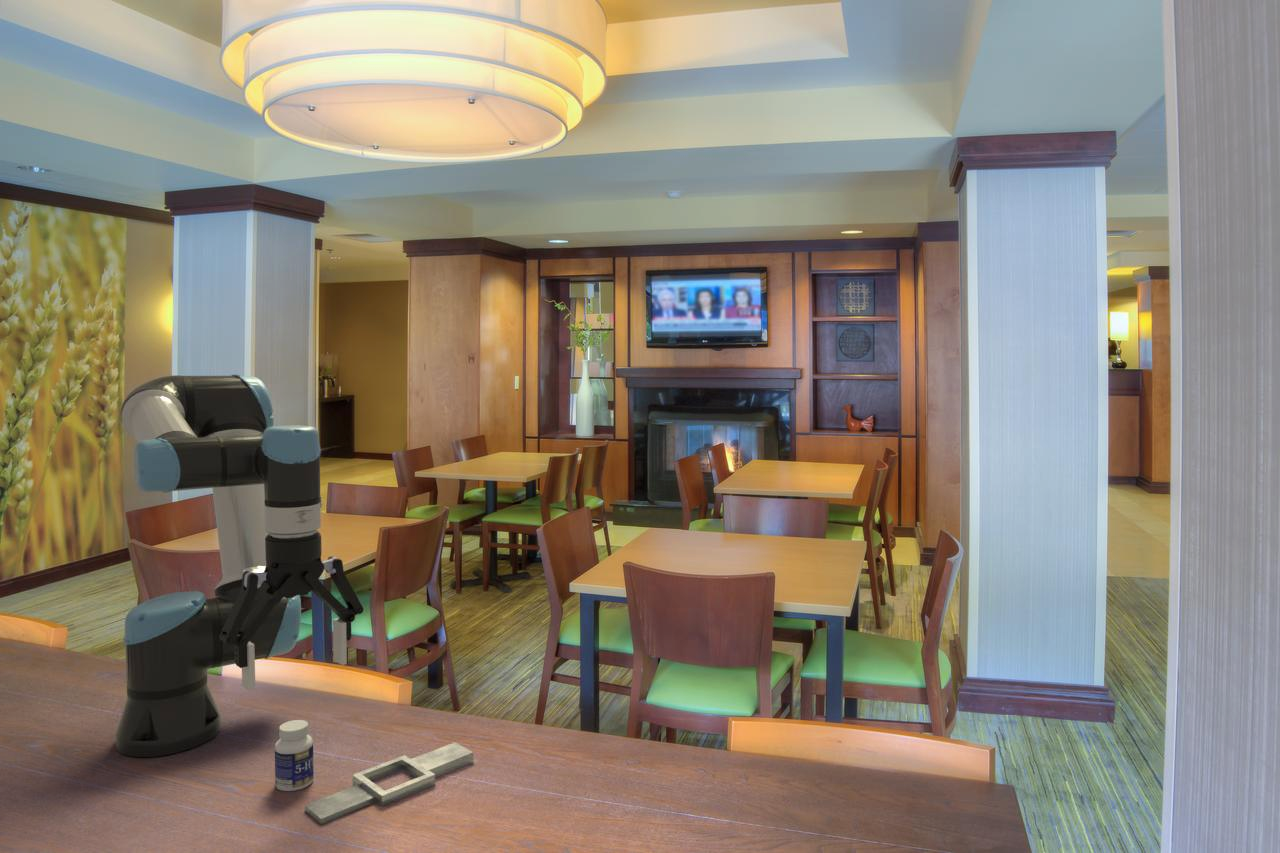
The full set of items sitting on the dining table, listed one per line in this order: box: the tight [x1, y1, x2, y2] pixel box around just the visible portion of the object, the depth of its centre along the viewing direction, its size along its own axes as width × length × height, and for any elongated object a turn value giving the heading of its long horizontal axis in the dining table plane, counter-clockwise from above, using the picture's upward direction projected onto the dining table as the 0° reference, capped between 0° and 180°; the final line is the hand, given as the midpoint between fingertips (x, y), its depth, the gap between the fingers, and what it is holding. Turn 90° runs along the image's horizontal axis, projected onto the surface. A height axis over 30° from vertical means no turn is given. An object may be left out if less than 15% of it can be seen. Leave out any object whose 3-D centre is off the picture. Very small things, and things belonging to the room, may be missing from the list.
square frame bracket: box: [304, 741, 474, 825], centre depth 122 cm, size 25×9×2 cm, turn 136°
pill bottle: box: [274, 719, 315, 792], centre depth 122 cm, size 5×5×9 cm
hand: (296, 674), depth 121 cm, fingers open, 13 cm apart
